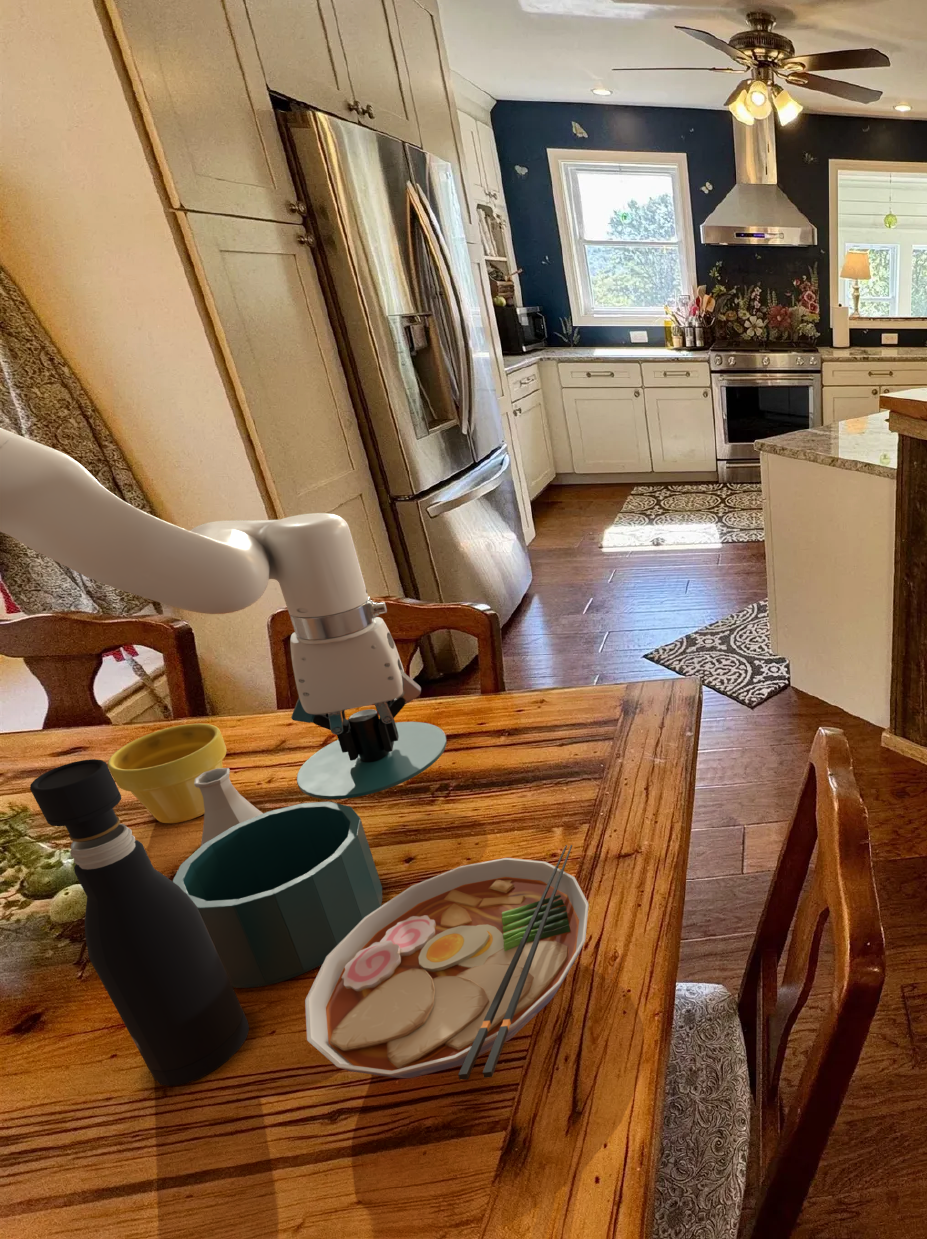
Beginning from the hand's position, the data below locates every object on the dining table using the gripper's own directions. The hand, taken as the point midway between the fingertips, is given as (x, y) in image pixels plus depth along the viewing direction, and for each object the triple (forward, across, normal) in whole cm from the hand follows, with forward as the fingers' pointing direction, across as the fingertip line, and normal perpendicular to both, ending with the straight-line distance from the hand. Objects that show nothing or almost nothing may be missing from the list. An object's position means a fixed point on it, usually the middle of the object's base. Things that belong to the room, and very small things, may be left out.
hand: (372, 749), depth 88 cm
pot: (+10, +7, +17) cm, 21 cm away
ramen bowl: (+10, -9, +36) cm, 38 cm away
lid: (+2, 0, 0) cm, 2 cm away
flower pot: (+10, +23, -13) cm, 28 cm away
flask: (+10, +16, -2) cm, 19 cm away
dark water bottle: (+10, +12, +30) cm, 34 cm away
